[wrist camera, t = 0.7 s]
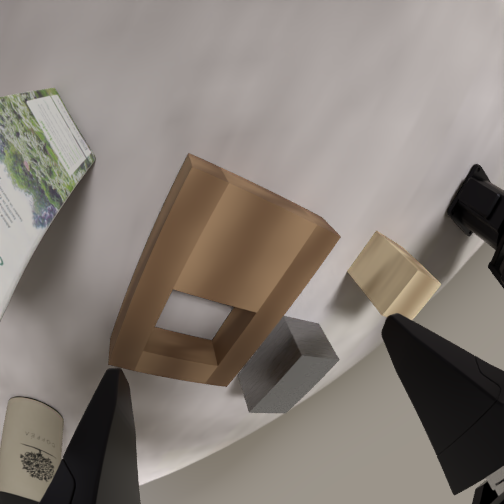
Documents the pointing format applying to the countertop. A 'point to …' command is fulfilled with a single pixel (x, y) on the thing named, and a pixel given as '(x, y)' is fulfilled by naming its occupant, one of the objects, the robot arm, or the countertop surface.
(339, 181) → the countertop surface
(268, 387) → the grey rectangular block
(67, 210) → the countertop surface
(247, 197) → the socket block
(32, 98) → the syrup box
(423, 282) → the square bit
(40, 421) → the travel mug
